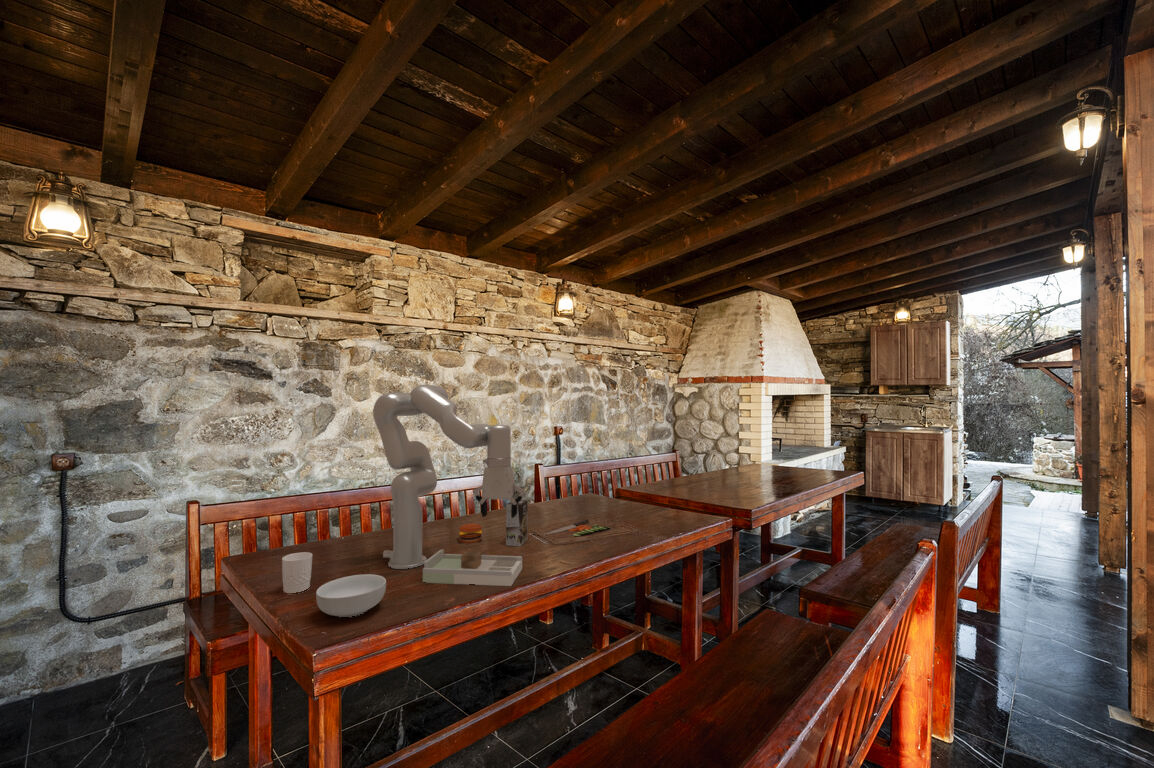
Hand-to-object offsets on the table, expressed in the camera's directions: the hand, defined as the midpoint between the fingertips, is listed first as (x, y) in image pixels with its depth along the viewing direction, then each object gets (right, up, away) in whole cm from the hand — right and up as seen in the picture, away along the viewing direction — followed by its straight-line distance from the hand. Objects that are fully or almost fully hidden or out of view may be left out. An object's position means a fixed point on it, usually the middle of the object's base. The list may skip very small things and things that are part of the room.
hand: (499, 516), depth 153 cm
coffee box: (+1, -21, +36) cm, 41 cm away
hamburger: (-18, -21, +40) cm, 49 cm away
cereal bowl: (-35, -18, -27) cm, 48 cm away
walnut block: (-9, -16, 0) cm, 18 cm away
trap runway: (-8, -19, -1) cm, 21 cm away
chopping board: (+28, -22, +52) cm, 63 cm away
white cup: (-59, -19, -12) cm, 63 cm away
